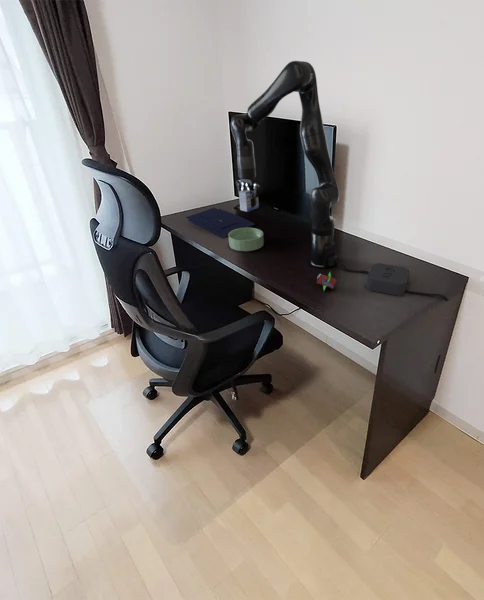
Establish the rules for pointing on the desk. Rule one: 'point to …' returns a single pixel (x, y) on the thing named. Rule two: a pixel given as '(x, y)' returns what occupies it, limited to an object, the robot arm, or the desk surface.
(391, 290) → the streaming box
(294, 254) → the desk surface
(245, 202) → the medicine box
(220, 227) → the folded navy cloth
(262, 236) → the bowl
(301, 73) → the robot arm
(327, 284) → the geometric puzzle
